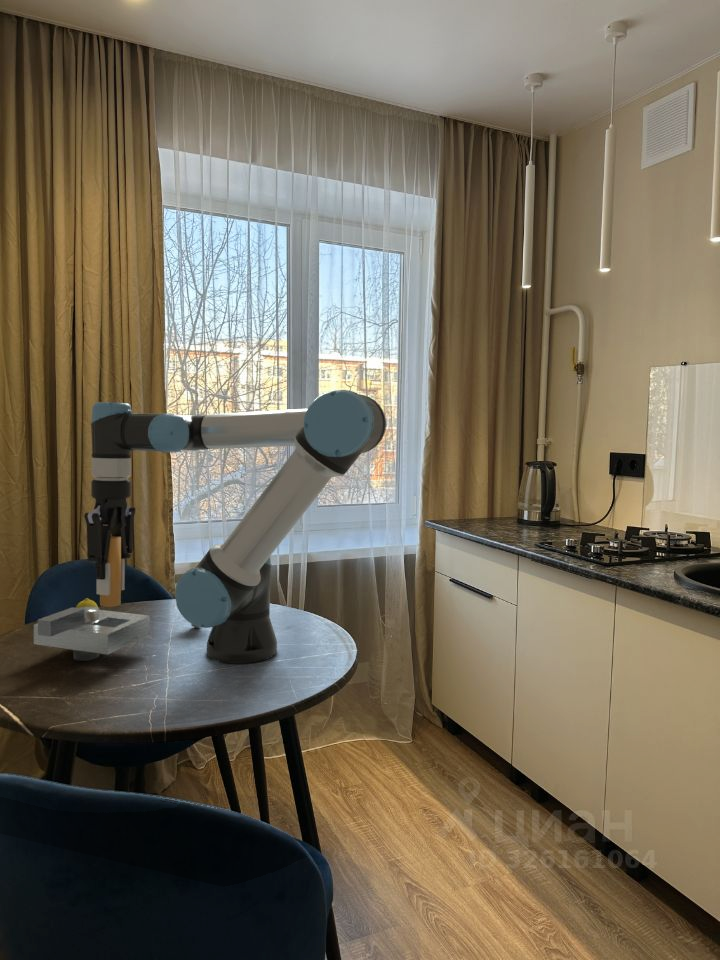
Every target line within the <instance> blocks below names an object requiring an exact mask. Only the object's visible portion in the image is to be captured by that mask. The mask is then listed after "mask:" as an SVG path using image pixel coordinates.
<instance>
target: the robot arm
mask: <svg viewBox="0 0 720 960" xmlns="http://www.w3.org/2000/svg"><path fill="white" fill-rule="evenodd" d="M91 407H92V408H91V409H92V410H91V422H90V429H91V431H90V433H91V476H92V477H93V478H94V479H92V480H91V481H90V482H91V484H90V485H91V486H90V489H91V493H90V495H91V497H92V498H93V499H95V505H94V506H93V510H92V511H91V512H85V513H84V515H83V516H84V520H85V523H86V547H87V551H86V553H87V554H86V555H87V557H86V558H87V561H88V562H90V563H92V564H93V563H94V564H95V578H96V595H99V596H100V595H110V563H107V561H108V554H109V546H110V539H111V536H120V537H121V591H124V590H126V589H125V584H126V583H125V582H126V581H125V579H126V577H125V574H126V559H130V558H131V556H132V553H133V551H134V541H133V540H134V522H135V513H136V510H137V509H136V507H134V506H129V505H128V503H127V499H129V498H131V494H132V492H131V491H132V490H131V489H132V487H131V486H132V485H131V484H132V483H131V482H132V481H131V480H130V479H129V478H130V477H132V458H131V457H132V456H131V455H132V451H143V452H159V453H179V452H181V451H200V450H219V449H220V450H221V449H224V450H225V449H244V448H245V449H246V448H247V449H250V448H271V447H273V448H274V447H295V449H294V450H293V452H292V453H291V455H290V456H289V457H288V459H287V460H286V461H285V462H284V464H283V465H282V466H281V468H280V469H279V471H278V472H277V473H276V475H274V477H273V478H272V480H271V481H270V482H269V484H268V485H267V486H266V488H265V489H264V490H263V491H262V493H261V494H260V495H259V497H258V498H257V499H256V500H255V502H254V503H253V505H252V506H251V507H250V509H249V510H248V511H247V513H246V514H245V515H244V516H243V518H242V519H241V521H239V523H238V524H237V525H236V527H235V528H234V529H233V531H232V533H230V535H229V536H228V537H227V539H225V541H224V543H215V544H213V545H212V546H211V547H210V548H209V550H208V551H207V552H206V553H205V554H204V556H203V557H202V558H201V560H200V561H199V562H198V564H196V566H195V567H194V568H193V567H192V568H190V569H188V570H186V572H184V573H183V574H182V575H181V576H180V578H179V579H178V580H177V582H176V585H175V589H174V598H175V602H176V603H175V604H176V607H177V610H178V611H179V613H180V614H181V616H182V617H183V618H184V619H185V621H187V622H188V623H190V624H193V625H195V626H197V627H199V628H203V629H207V628H211V630H210V633H209V635H208V639H207V642H206V655H207V657H208V658H210V659H211V660H214V661H216V662H220V663H227V664H251V663H250V662H253V663H257V661H258V662H262V660H263V661H265V659H266V660H268V659H267V658H269V657H271V656H272V657H274V656H275V655H276V654H277V652H278V640H277V637H276V634H275V633H276V632H275V630H274V627H273V623H272V621H271V616H270V614H271V613H270V611H271V610H270V609H271V608H270V606H271V579H272V578H271V576H272V574H271V573H272V569H271V568H272V563H271V562H272V561H271V556H272V554H273V553H274V552H275V551H276V550H277V548H278V547H279V546H280V545H281V543H282V541H283V540H285V538H286V537H287V535H288V534H289V533H290V532H291V530H292V529H293V528H294V526H295V525H296V524H297V523H298V521H299V520H300V519H301V518H302V516H303V515H304V514H305V512H306V511H307V510H308V509H309V507H310V506H311V505H312V504H313V502H314V501H315V500H316V498H317V497H318V496H319V494H320V493H321V492H322V491H323V489H324V488H325V487H326V486H327V484H328V483H329V482H330V480H331V479H332V478H335V477H343V476H345V475H346V473H347V472H348V471H349V470H350V468H351V467H352V466H353V464H354V463H355V462H356V460H358V458H359V457H360V456H361V454H365V453H367V452H370V451H372V450H374V448H376V447H377V446H378V445H379V444H380V443H381V441H382V440H383V438H384V436H385V433H386V429H387V420H386V419H387V418H386V414H385V412H384V410H383V408H382V407H381V405H380V404H379V403H378V402H377V401H376V400H375V399H374V398H371V397H369V396H367V395H364V394H359V393H357V392H355V391H352V390H347V389H337V390H336V389H335V390H333V391H328V392H327V391H326V392H325V393H323V394H321V395H318V396H317V397H316V398H315V399H314V400H313V401H312V402H311V403H310V405H308V407H307V408H297V409H283V410H265V411H245V412H232V413H231V412H230V413H229V412H228V413H211V414H194V415H193V414H192V415H191V414H190V415H183V414H182V415H181V414H174V413H164V412H163V413H136V412H133V411H132V406H131V404H129V403H125V402H109V401H108V402H105V401H103V402H101V401H98V402H95V403H94V404H93V405H92V406H91ZM275 653H276V654H275ZM274 654H275V655H274ZM273 655H274V656H273ZM272 657H271V658H272ZM269 659H270V658H269Z"/></svg>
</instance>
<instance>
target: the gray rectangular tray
mask: <svg viewBox="0 0 720 960" xmlns="http://www.w3.org/2000/svg"><path fill="white" fill-rule="evenodd" d="M150 617H151V616H150V615H148V614H147V615H146V614H138V613H129V612H121V611H115V610H114V611H113V610H106V609H100V608H99V607H98V608H97V607H81V608H76V607H69V608H67V609H64V610H61V611H58V612H56V613H52V614H50V615H47V616H44V617H41V618H38V619H37V622H36V623H35V624H33V645H37V646H38V645H39V646H45V647H52V648H59V649H67V650H71V651H73V659H74V660H75V661H80V662H81V661H83V662H84V661H85V662H86V661H92V660H95V659H97V658H99V657H100V654H102V655H110V654H112V653H113V652H116V651H118V650H120V649H122V648H124V647H126V646H128V645H130V644H132V643H134V642H136V641H138V640H141V639H142V638H144V637H146V636H149V635H150V634H151V633H150V628H151V627H150V626H151V624H150V621H151V620H150V619H151V618H150Z"/></svg>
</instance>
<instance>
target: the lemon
mask: <svg viewBox="0 0 720 960" xmlns="http://www.w3.org/2000/svg"><path fill="white" fill-rule="evenodd" d="M81 607H97V608H99V606H98V604H97V602H95V601H94V600H92V599H89V598H88V597H87V598H84V599H83V600H82V601H79V602H78V603H77V605H76V606H75V608H81Z"/></svg>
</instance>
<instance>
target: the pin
mask: <svg viewBox="0 0 720 960" xmlns="http://www.w3.org/2000/svg"><path fill="white" fill-rule="evenodd" d="M107 563H110V595H99V605H100V606H99V607H102V608H112V607H113V608H114V607H119V606H120V605H122V604H121V603H122V601H121V599H122V595H121V593H122V590H121V537H120V536H112V535H111V539H110V546H109V554H108V561H107Z"/></svg>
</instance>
